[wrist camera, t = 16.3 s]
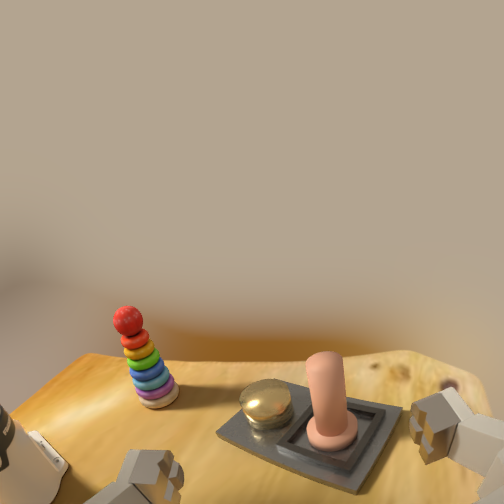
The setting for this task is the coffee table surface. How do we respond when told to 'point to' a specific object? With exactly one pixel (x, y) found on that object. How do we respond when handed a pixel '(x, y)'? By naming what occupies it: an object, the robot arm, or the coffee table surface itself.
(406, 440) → the coffee table surface
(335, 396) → the pink peg on base
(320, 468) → the carrier plate
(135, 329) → the stacking toy
